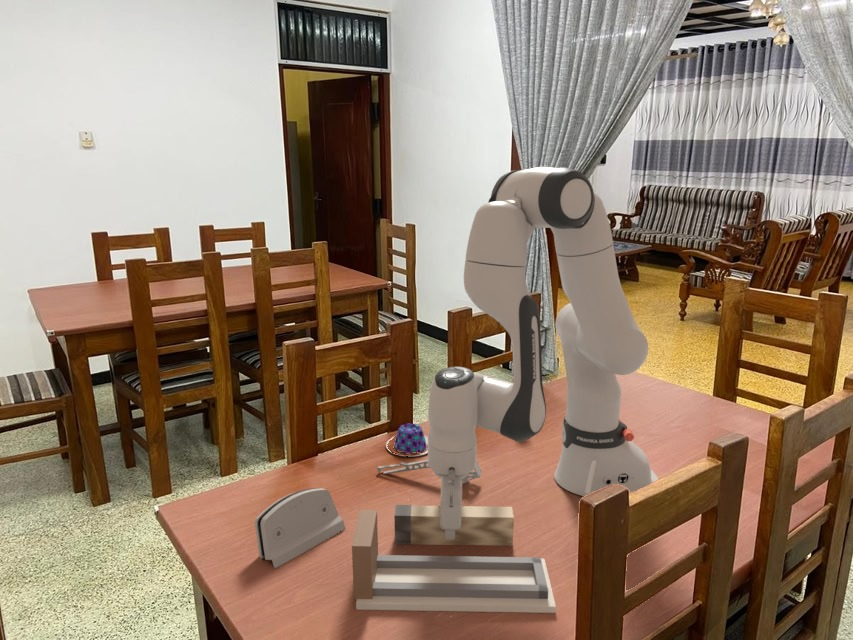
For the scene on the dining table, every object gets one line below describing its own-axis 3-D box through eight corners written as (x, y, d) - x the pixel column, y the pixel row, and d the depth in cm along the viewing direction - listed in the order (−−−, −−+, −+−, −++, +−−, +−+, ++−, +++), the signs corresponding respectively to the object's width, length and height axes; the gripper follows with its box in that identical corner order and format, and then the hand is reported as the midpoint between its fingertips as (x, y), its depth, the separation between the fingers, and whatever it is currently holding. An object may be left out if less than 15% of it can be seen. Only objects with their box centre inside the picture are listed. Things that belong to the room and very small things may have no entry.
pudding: (401, 464, 148) (400, 443, 147) (377, 443, 158) (376, 424, 156) (444, 451, 154) (444, 431, 153) (418, 432, 164) (418, 413, 163)
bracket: (480, 479, 137) (460, 439, 136) (395, 507, 144) (375, 470, 142) (481, 471, 140) (462, 433, 139) (398, 500, 147) (379, 463, 145)
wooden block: (510, 534, 122) (511, 506, 120) (512, 545, 118) (514, 517, 117) (396, 532, 122) (395, 504, 121) (394, 544, 119) (394, 515, 117)
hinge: (274, 569, 112) (259, 515, 112) (260, 565, 115) (246, 513, 115) (347, 528, 124) (334, 478, 123) (332, 526, 127) (320, 478, 127)
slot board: (543, 564, 113) (547, 509, 110) (555, 612, 102) (559, 553, 99) (362, 561, 114) (360, 506, 111) (353, 609, 103) (350, 550, 99)
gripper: (470, 486, 106) (468, 557, 110) (467, 431, 125) (465, 493, 129) (432, 485, 106) (431, 556, 110) (435, 430, 126) (434, 492, 129)
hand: (449, 521), depth 120 cm, fingers open, 8 cm apart
